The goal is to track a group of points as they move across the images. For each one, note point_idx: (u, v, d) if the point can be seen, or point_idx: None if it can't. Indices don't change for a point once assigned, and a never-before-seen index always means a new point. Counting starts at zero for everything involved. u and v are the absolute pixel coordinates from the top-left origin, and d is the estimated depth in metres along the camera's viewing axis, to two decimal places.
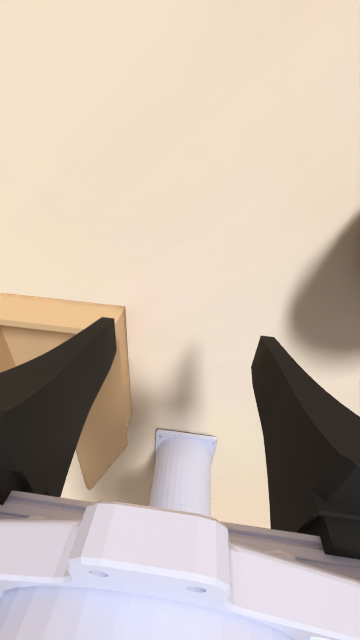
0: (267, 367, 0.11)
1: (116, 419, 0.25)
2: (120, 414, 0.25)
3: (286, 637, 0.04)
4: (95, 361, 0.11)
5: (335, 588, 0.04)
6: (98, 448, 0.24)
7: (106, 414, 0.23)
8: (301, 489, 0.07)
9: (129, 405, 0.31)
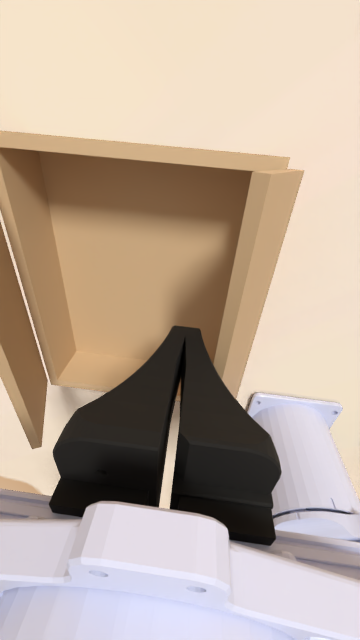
0: (184, 357, 0.11)
1: (246, 353, 0.15)
2: (250, 347, 0.15)
3: (286, 638, 0.04)
4: (178, 372, 0.11)
5: (335, 588, 0.04)
6: None
7: (248, 334, 0.13)
8: None
9: None
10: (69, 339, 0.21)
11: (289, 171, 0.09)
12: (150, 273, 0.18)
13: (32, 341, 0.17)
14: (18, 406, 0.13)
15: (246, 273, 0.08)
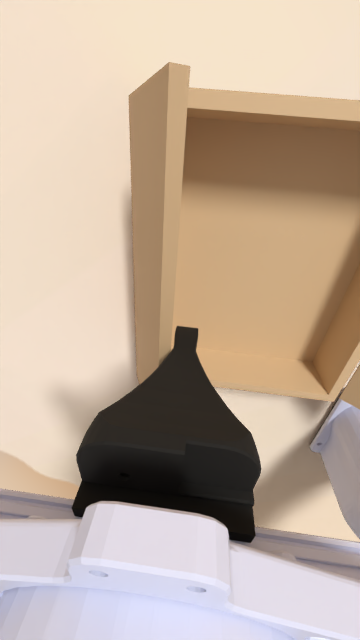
0: None
1: None
2: None
3: (286, 638, 0.04)
4: None
5: (335, 588, 0.04)
6: None
7: None
8: None
9: None
10: None
11: None
12: (265, 257, 0.16)
13: None
14: None
15: None
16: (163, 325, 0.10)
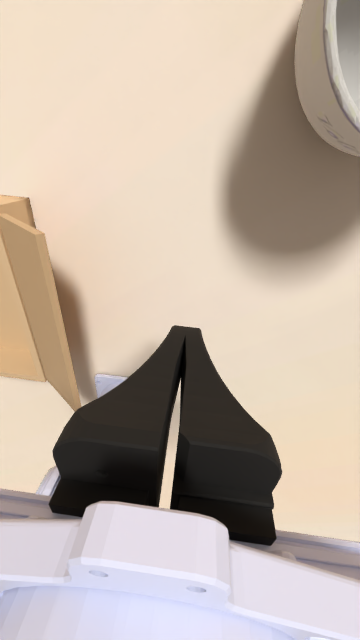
0: (184, 357, 0.11)
1: None
2: None
3: (286, 638, 0.04)
4: (178, 372, 0.11)
5: (335, 588, 0.04)
6: None
7: None
8: (174, 471, 0.07)
9: None
10: None
11: (20, 222, 0.16)
12: None
13: None
14: None
15: (53, 279, 0.16)
16: None
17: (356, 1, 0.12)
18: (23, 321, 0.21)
